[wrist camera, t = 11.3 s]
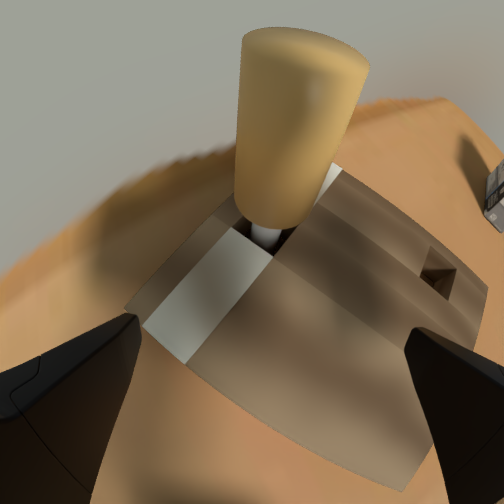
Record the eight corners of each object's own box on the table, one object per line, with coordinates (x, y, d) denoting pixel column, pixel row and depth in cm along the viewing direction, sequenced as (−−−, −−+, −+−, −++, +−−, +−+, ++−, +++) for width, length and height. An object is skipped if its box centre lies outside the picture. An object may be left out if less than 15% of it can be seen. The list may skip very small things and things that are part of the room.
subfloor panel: (379, 480, 12) (402, 492, 10) (139, 319, 16) (123, 307, 14) (465, 298, 19) (489, 286, 16) (285, 165, 23) (291, 138, 20)
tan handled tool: (283, 282, 18) (375, 92, 6) (224, 266, 18) (222, 55, 6) (295, 231, 20) (365, 47, 7) (241, 217, 20) (259, 21, 8)
